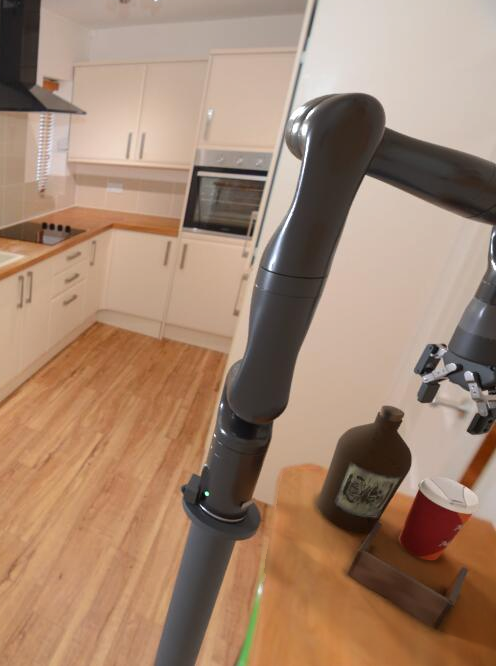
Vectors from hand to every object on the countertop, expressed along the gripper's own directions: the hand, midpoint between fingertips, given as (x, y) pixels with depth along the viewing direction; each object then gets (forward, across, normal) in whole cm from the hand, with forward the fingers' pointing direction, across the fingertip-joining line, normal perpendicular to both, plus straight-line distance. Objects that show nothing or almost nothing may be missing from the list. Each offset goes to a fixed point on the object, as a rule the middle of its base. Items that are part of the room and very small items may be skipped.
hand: (448, 416), depth 76 cm
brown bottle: (+27, -4, -6) cm, 28 cm away
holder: (+26, +10, -8) cm, 29 cm away
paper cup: (+27, +4, +2) cm, 27 cm away
